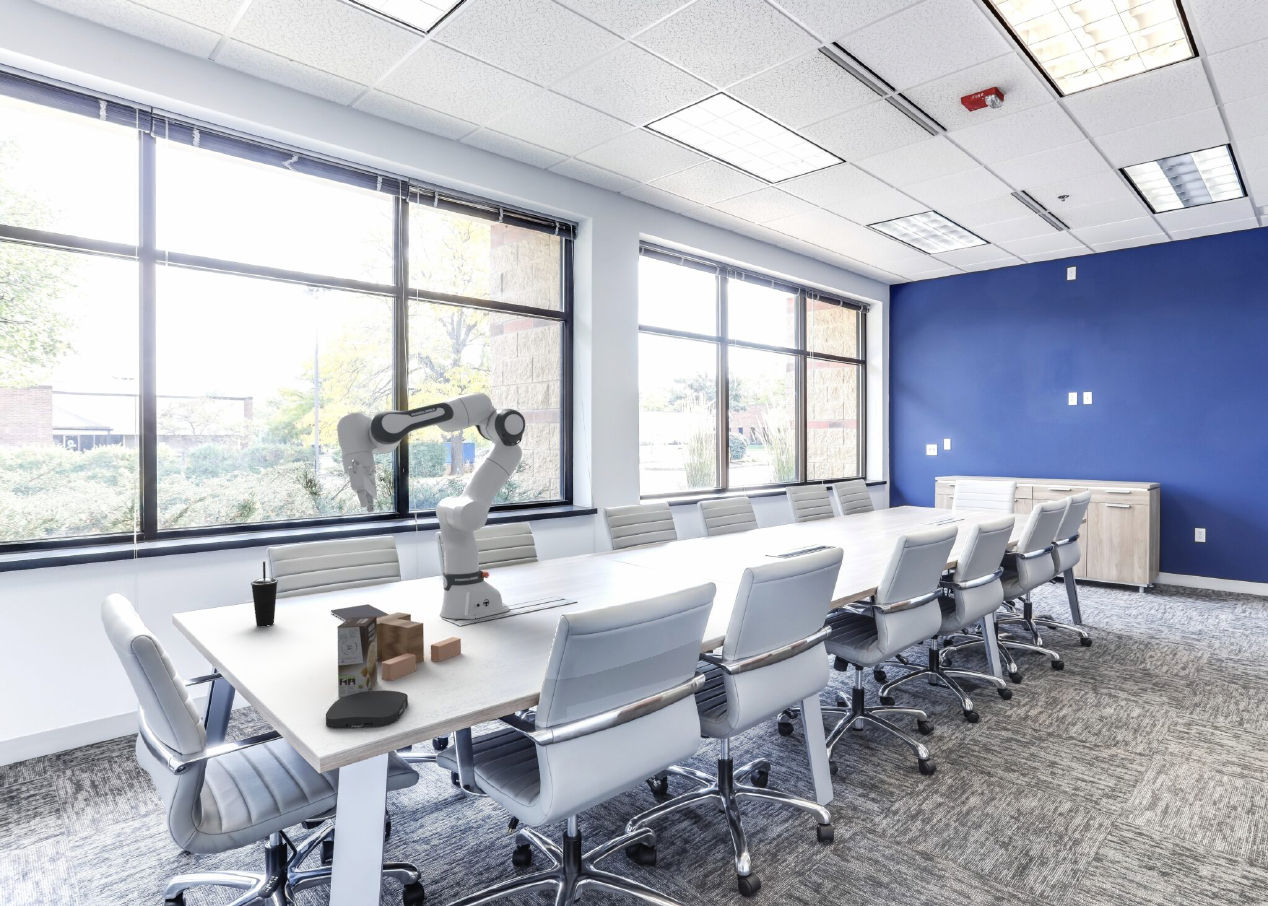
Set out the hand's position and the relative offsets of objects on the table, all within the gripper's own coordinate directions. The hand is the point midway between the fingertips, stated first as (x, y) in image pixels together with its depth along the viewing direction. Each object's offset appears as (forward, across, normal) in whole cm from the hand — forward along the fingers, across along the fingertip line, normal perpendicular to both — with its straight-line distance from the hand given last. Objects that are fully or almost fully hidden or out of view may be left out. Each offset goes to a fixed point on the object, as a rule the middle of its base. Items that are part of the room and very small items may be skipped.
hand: (368, 509), depth 205 cm
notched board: (+47, -22, -9) cm, 53 cm away
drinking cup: (+24, +27, +41) cm, 54 cm away
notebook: (+29, +32, +14) cm, 45 cm away
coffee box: (+48, -36, +4) cm, 61 cm away
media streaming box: (+54, -51, 0) cm, 74 cm away
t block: (+44, -16, -2) cm, 47 cm away
